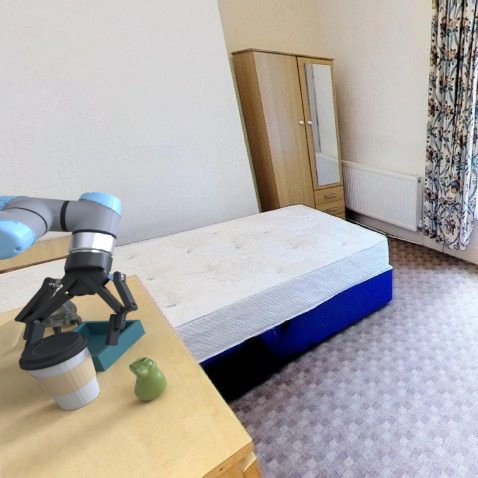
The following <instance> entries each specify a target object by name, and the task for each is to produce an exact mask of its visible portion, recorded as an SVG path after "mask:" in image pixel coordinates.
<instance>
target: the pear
mask: <svg viewBox="0 0 478 478" xmlns="http://www.w3.org/2000/svg"><path fill="white" fill-rule="evenodd" d="M128 369H129V371H130V372H131V373H132V374H133V375H135V377H136V379H135V383H134V387H133V388H134V389H133V393H134V395H135V397H136V398H137V399H139V400H140V401H144V402H145V401H152V400H155V399H156V398H159V397H160V396H161V395H162V394H163V393H164V392H165V391H166V388H167V385H168V383H167V378H166V376H165V374H164V373H163V371H162V370H161V369H160V368H159V367H158V365H157V362H156V361H155V360H153V359H151V358H149V357H148V356H143V357H139V358H137V359H135V361H133V362H132V363H130V364H129V365H128Z"/></svg>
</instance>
